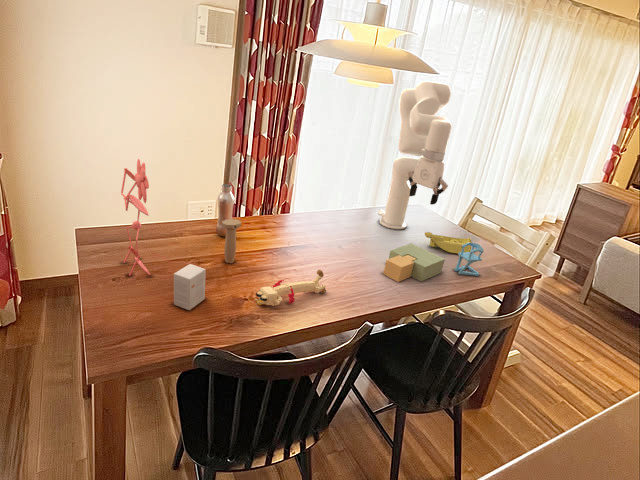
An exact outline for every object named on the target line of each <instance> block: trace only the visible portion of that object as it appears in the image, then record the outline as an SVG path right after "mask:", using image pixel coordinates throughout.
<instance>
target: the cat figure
mask: <svg viewBox="0 0 640 480" xmlns="http://www.w3.org/2000/svg"><path fill="white" fill-rule="evenodd" d="M316 275H318V276H316V277H315V279H313V280H307V281H306V280H303V281H295V282H288V283H285V284H281V283H282V282H284V279H279V280H278V281H276V282H275V283H274V284H273V285H272V287H271V286H269V285H268V286H261V287H260V288H259V291H256V293H255V296H256V297H257V298H254V301H256V304H257V305H258V306H261V305H265V306H272V307H275V306H279V305H280V303H282V301H283V297H285V296H287V297H288V298H289V299H288V302H287V304H290V305H291V304H294V302H296V301H295V300H296V299H295V294H297V293H308V292H309V293H313V292H314V293H316V294H318V293H321V294H325V293H326V292H327V289H326V287H327V286H326V284H321V285H320V284H319V283H320V281H321V280H322V279H323V278H324V276H325V274H324V272H323V270H321V269H318V270H317V271H316Z"/></svg>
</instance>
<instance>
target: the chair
mask: <svg viewBox="0 0 640 480" xmlns="http://www.w3.org/2000/svg"><path fill="white" fill-rule="evenodd" d="M468 245H470V246H471V251H470V252H465V253H463V252H464V247H466V246H468ZM475 253H478V255H476V254H475ZM483 253H484V248H483V247H482V245H481V244H479V243H475V242H471V243H466V244H464V245H462V251H461V252H460V253H457V254H458V260H457V263H456V266H455V268H454V272H458V273H457V274H458V275H464V276H465V275H466V276H474V277H479V276H480V272H478V271H477V270H475V269H474V268H472V267H471V266H470V265H472V264H475V263H476V262H482V261H483V259H482V258H481V256H482V254H483ZM463 259H464V260H465V261H466V262H467V263H466V264H465V265H462V266H461V263H462V260H463ZM467 269H468V270H469V271H465V270H467Z"/></svg>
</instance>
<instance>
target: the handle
mask: <svg viewBox="0 0 640 480" xmlns="http://www.w3.org/2000/svg"><path fill="white" fill-rule="evenodd" d="M222 226H223V227H224V228H226V236H225V239H224V240H225V241H224V250H223V251H224V253H223V254H224V262H225V263H226V264H233V263H234V262H235V258H236V255H237V254H236V253H237V229H239V228H240V227H241V226H242V222H241V220H239V219H236V218H235V219H234V218H232V219H228V220H224V221H222Z"/></svg>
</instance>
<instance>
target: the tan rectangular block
mask: <svg viewBox="0 0 640 480" xmlns="http://www.w3.org/2000/svg"><path fill="white" fill-rule="evenodd" d="M415 260H416V258H413V257H411V256H409V255H406V256H403V257H402V256H400V255H398V256H396V257H393V258H390V259H389V258H387V259H386V260H385V265H384V268H383V273H382V274H383V275H384V276H386V277H388V278H390V279H392V280H393V281H395V282H397V283H398V282H399V283H400V282H401V281H404V280H406V279H409V278H412V277H411V273H412V269H413V266H414V262H413V261H415Z"/></svg>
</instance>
